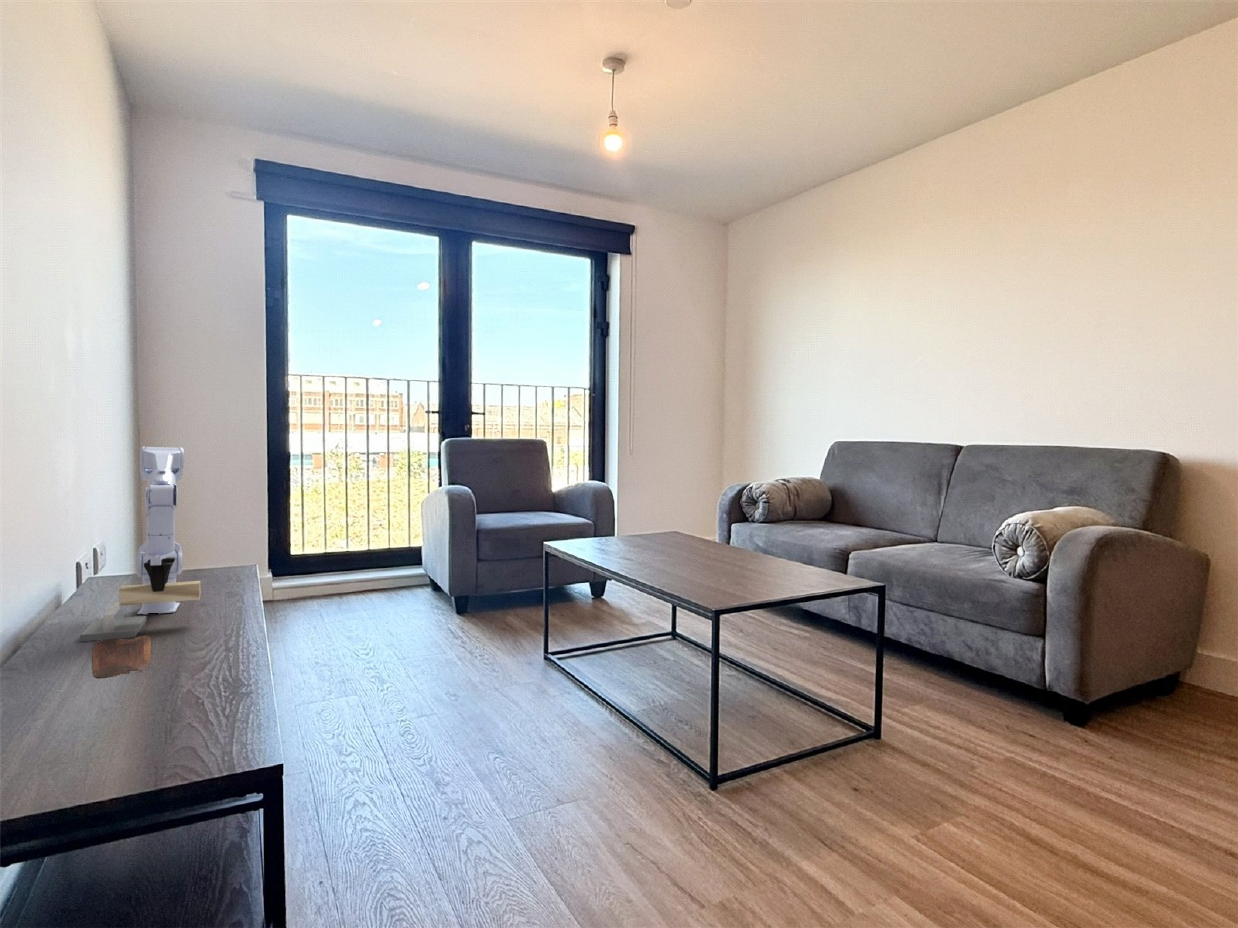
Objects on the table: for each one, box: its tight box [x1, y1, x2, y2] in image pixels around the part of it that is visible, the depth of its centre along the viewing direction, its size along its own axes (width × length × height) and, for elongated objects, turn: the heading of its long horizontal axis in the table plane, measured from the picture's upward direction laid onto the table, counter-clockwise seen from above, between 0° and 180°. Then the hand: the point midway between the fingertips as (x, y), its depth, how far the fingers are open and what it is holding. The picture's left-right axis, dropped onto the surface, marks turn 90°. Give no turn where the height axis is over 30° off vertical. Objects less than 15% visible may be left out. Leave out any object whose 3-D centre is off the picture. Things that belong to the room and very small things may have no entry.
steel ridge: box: [102, 601, 128, 633], centre depth 156 cm, size 13×2×4 cm, turn 27°
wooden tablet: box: [92, 635, 152, 679], centre depth 139 cm, size 26×2×10 cm
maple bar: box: [118, 580, 201, 606], centre depth 161 cm, size 3×16×4 cm, turn 118°
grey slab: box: [79, 615, 147, 642], centre depth 156 cm, size 14×10×2 cm
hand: (159, 589), depth 161 cm, fingers closed on maple bar, 3 cm apart
